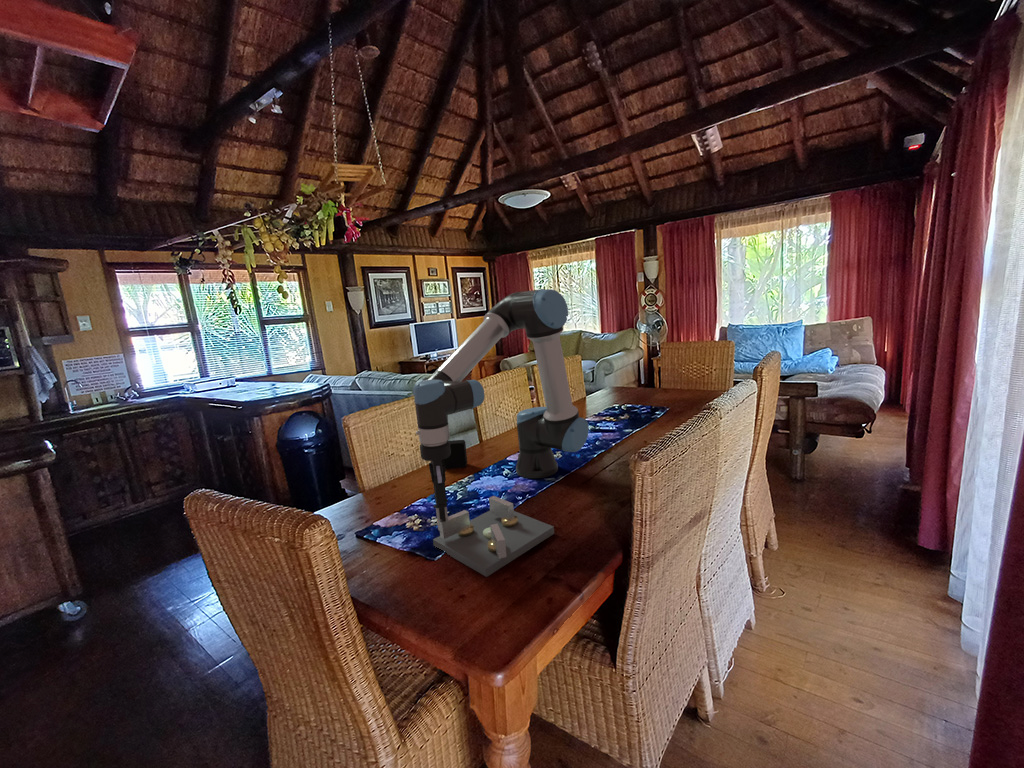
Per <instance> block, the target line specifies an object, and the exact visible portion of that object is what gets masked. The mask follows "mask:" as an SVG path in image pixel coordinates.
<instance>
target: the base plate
mask: <svg viewBox="0 0 1024 768" xmlns="http://www.w3.org/2000/svg"><path fill="white" fill-rule="evenodd" d="M514 515H515V516H517V518H518V524H517V525H515V526H512V527H505V526H503V525H502V518H501V517H499V516H497V515H495V514H492V513H490V510H487V511H486V512H484V513H481V514H480V515H478V516H476V517H474V518H471V519H469V520H470V524H472V525H473V526H474V532H473V533H472V534H471V535H468V536H460V535H458V533H457V534H454V535H452V536H450V537H448V538H445V539H443V538H442V537H440V535H439V536H437V537H435V538H433V539H432V542H433V544H432V545H433V547H434V546H435V547H434V548H436V547H437V548H439V549H441V550H443V551H445V552H446V553H447V554H446V553H445V554H446V555H448V556H449V555H450V557H451V558H453V559H455V560H456V561H458V562H460V563H461V564H463V565H464V566H467V567H468V568H470V569H472V570H474V571H475V572H477V573H479V574H481V575H482V576H484V577H486V578H487V577H490V575H491V576H492V574H494V573H495V572H497V571H498V570H500V569H501V568H503V567H504V566H506V565H507V564H509V563H511V562H512V561H514V560H516V559H517V558H519V557H520V556H522V555H523V554H525V553H527V552H528V551H530V550H531V549H532V548H534V547H536V546H537V545H539V544H540V543H541V542H544V541H546V539H548V538H550V537H551V536H553V535H554V534H555V528H554V527H555V526H554V525H550V524H548V523H547V522H546V523H545V522H543V521H541V520H538V519H536V518H533V517H530V516H528V515H525V514H522V513H520V512H518V511H516V510H514ZM493 524H498V526H499V528H500V530H501V532H502V534H503V536H504V539H505V545H506V556H507V557H504V558H500V559H499V557H498V555H497V553H496V552H491V551H489V550H488V545H487V543H488V541H489V540H491V539H492V538H491V528H490V525H493ZM437 548H436V549H437ZM439 549H438V550H439ZM441 550H440V551H441Z"/></svg>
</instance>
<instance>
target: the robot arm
mask: <svg viewBox="0 0 1024 768" xmlns="http://www.w3.org/2000/svg"><path fill="white" fill-rule="evenodd" d="M568 316H569V308H568V303H567V300H566V299H565V297H564V296H563V295H562V294H561V293H560V292H559V291H557V290H555V289H546V288H545V289H544V288H540V289H539V288H538V289H533V290H525V291H516V292H513V293H510V294H508V295H507V296H505V297H503V298H502V299H501V300H499V301H498V302H497V303H496V304H495V305H494V306H492V307H491V309H490V310H489V311H487V313H485V315H484V316H483V321H482V323H480V325H478V326H477V327H476V329H474V331H473V332H472V333H471V334H470V335H469V336H468V337H467V338H466V339H465V340H463V342H462V343H461V344H460V345H459V346H458V348H456V349H455V350H454V352H452V353H451V355H450V356H449V357H448V358H447V359H446V360H445V361H444V362H443V363H442V364H441V365H440V366H439V367H438V368H437V369H436V370H435V371H434V372H433V373H432V374H431V375H430V376H429V377H425V378H423V377H422V378H420V379H418V380H417V381H416V382H415V384H414V385H413V389H412V393H413V397H414V400H413V402H414V405H415V406H414V407H415V413H416V414H415V415H416V423H417V431H415V435H418V441H419V443H420V445H419V450H420V451H419V452H420V457H421V459H422V460H423V461H426V462H428V469H429V472H430V473H429V474H430V478H431V482H432V483H433V484H432V485H433V490H434V491H433V492H434V494H433V495H434V503H435V504H433V509H435V511H436V512H435V514H436V520H437V530H438V531H440V529H439V520H442V519H446V518H447V517H449V515H448V502H449V498H447V494H446V491H447V490H446V481H447V479H446V470H447V469H446V467H445V464H444V461H442V460H443V459H446V458H448V457H449V456H450V454H451V449H450V442H449V441H450V428H449V427H450V426H449V417H448V416H450V415H453V414H456V413H461V412H464V411H467V410H468V411H469V410H473V409H474V408H477V407H481V405H482V404H483V403H484V401H485V389H484V386H483V385H482V383H481V382H480V381H478V380H477V379H466V380H464V379H465V378H466V377H467V376H468V375H469V373H471V371H472V370H473V369H474V368H475V367H477V365H478V363H480V361H481V360H482V359H483V358H484V357H485V356H486V355H487V354H488V353H489V352H490V351H491V349H493V348H494V346H495V345H496V344H497V343H498V342H499V340H501V339H502V338H503V339H504V338H507V336H509V334H510V333H512V332H513V331H515V330H519V329H520V330H521V329H523V330H524V331H525V335H526V338H527V339H528V340H530V341H531V342H532V344H533V348H534V353H535V354H534V355H535V358H536V364H537V368H538V375H539V379H540V383H541V388H542V393H543V398H544V403H545V406H536V407H531V408H526V409H522V410H520V411H518V413H517V414H516V429H517V436H518V437H517V439H518V440H517V441H518V451H519V452H518V457H517V462H516V465H515V471H516V474H517V476H520V477H521V478H527V479H543V478H547V477H550V476H553V475H554V474H557V472H558V470H559V466H558V461H557V460H556V457H555V454H554V451H553V450H552V449H556V450H560V451H563V452H571V453H577V452H578V451H580V450H581V449H582V448H583V447H584V446H585V443H586V442H587V439H588V436H589V431H590V430H589V429H590V427H589V423H588V420H586V419H585V418H584V417H580V415H579V414H580V413H579V409H578V407H577V406H575V405H574V404H573V402H572V395H571V391H570V385H569V380H568V374H567V369H566V363H565V357H564V353H563V348H562V342H561V337H560V336H561V335H562V333H563V331H564V326H565V325H566V323H567V321H568ZM429 461H430V462H429Z"/></svg>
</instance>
